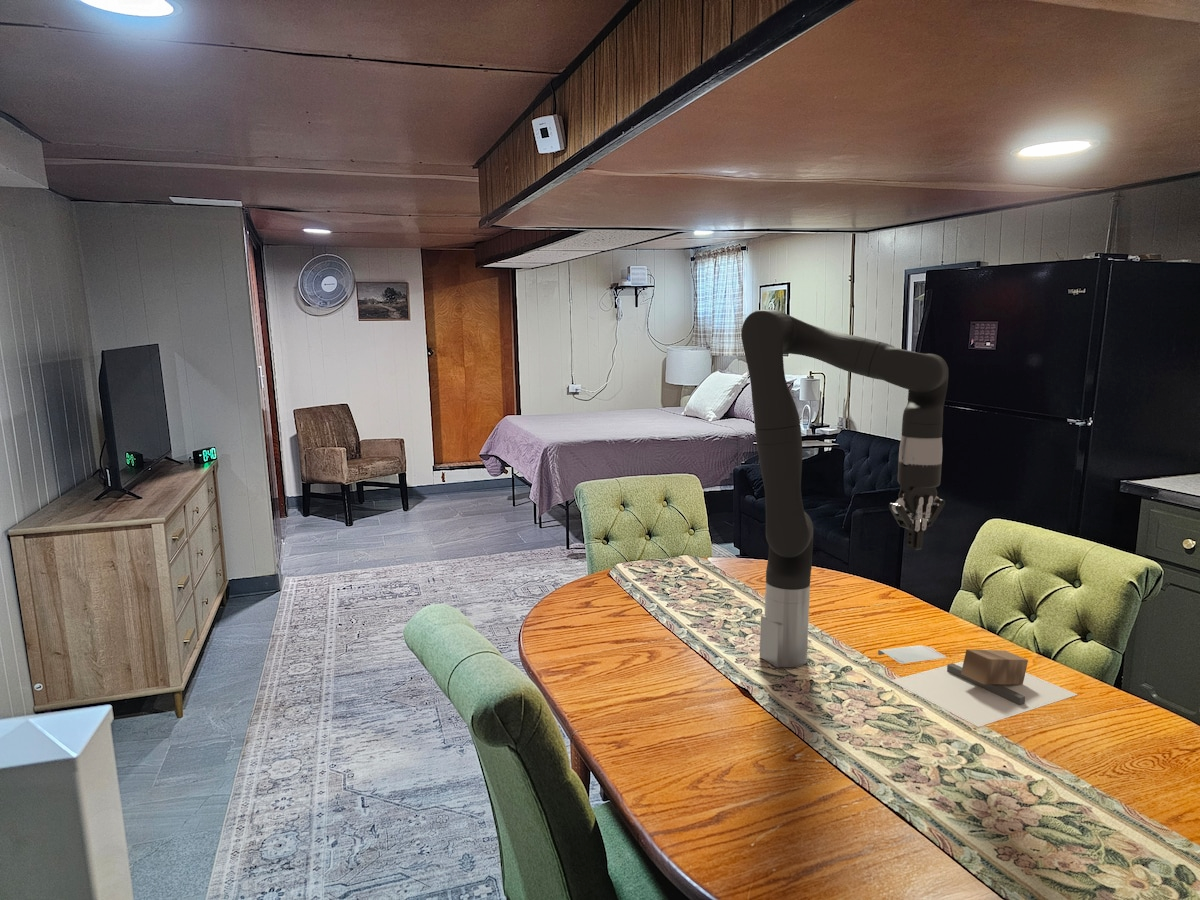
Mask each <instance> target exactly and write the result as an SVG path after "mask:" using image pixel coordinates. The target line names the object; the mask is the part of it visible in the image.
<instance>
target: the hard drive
mask: <svg viewBox="0 0 1200 900" xmlns="http://www.w3.org/2000/svg"><path fill="white" fill-rule="evenodd" d="M877 654H878V655H879V656H882V655H886V656H888V657H889V658H891V659H893V660H894V661H896V662H897V663H899V664H902V665H903V664H908V663H915V662H917V663H918V662H923V661H932V660H940V659H945V658H947V656H946V655H945V654H942V653H941V652H939V651H937V650H936V649H935V648H934V647H931V646H927V645H926V646H925V645H921V644H918V645H917V644H916V645H911V646H902V647H894V648H887V649H886V648H885V649H878V651H877Z"/></svg>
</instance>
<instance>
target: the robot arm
mask: <svg viewBox="0 0 1200 900" xmlns="http://www.w3.org/2000/svg"><path fill="white" fill-rule="evenodd" d="M741 342H742V347H743V352H744V356H745V360H746V365H747V371H748V375H749V380H750V389H751V402H752V408H753V419H754V432H755V442H756V448H757V455H758V461H759V466H760V467H759V468H760V472H761V473H760V474H761V477H762V482H763V489H764V498H765V500H764V501H765V539H766V542H767V544H768V557H767V564H766V569H765V570H766V571H765V572H766V573H765V596H764V597H765V598H764V614H763V615H761V616H760V632H759V633H760V635H759V637H760V638H759V658H761V659H763V660H764V661H765V662H767V663H769V664H770V665H772V666H774V667H775V668H798V667H802V666H804V665H805V664H807V661H808V645H809V644H808V643H809V617H810V616H809V615H810V595H811V594H810V592H811V576H812V567H813V549H814V548H813V547H814V525H813V521H812V518H811V517H810V515H809V514H808V513H807V512H806V511H805V509H804V504H803V499H802V498H803V497H802V487H801V485H802V484H801V483H802V471H803V469H802V468H803V438H802V428H801V427H802V426H801V421H800V420H801V419H800V415H799V412H798V408H797V405H796V403H795V401H794V398H793V396H792V393H791V391H790V388H789V386H788V383H787V380H786V374H785V368H784V367H785V366H784V354H789V355H797V356H798V355H799V356H805V357H807V358H808V357H809V358H811V359H812V358H813V359H815V360H818V361H821V362H824V363H826V364H828V365H831V366H833V367H834V368H838V369H839V370H843V371H846V372H849V373H852V374H855V375H859V376H863V377H865V378H866V377H867V378H871V379H875V380H881V381H884V382H886V383H889V384H892V385H894V386H897V387H899V388H903V389H905V390H908V393H907V403H906V406H905V408H904V410H903V413H902V421H901V423H902V424H901V438H900V443H899V448H898V449H899V451H898V462H897V463H898V464H897V482H898V484H899V485H900V489H899V492H898V495H897V496H898V499H896V501H895V502H890V503H889V504H888V509H889V511H890V513H891V514H892V516H893V517H894V519H895V520H896V524H898V525H899V527H901V528H904V529H906V530H907V531H906V546H907V548H908V549H910V550H913V551H918V550H922V549H923V545H924V535H925V531H926V530H927V528H928V527H933V526H934V523H935V521H936V520H937V518H938V517H939V515H940V513H941V511H942V510H943V508H944V507H945V505H946V500H945V499H942V498H940V497H939V496H937V495H938V491H937V487H939V486H940V485H941V481H942V480H941V479H942V478H941V477H942V464H943V463H942V462H943V450H944V449H943V428H944V427H943V425H944V407H945V401H946V396H947V391H948V385H949V366H948V363H947V362H946V360H945V359H944V358H943V357H942V356H940V355H938V354H935V353H923V352H918V351H917V352H916V351H912V350H907V349H902V348H897V347H895V346H894V345H892V344H889V343H887V342H886V343H885V342H883V341H878V340H875V339H870V338H866V337H861V336H859V335H858V336H857V335H854V334H848V333H842V332H839V331H838V332H837V331H833V330H830V329H825V328H824V327H823V328H822V327H820V326H819V327H818V326H816V325H813V324H810V323H808V322H805V321H803V320H801V319H798V318H796V317H794V316H792V315H789V314H787V313H786V312H784V311H781V310H779V309H758V310H755V311H753V312H751V313H749V315H748V316H747V317H746V318H745V319H744V322H743V324H742V327H741Z"/></svg>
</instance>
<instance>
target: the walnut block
mask: <svg viewBox="0 0 1200 900" xmlns="http://www.w3.org/2000/svg"><path fill="white" fill-rule="evenodd" d="M963 661H964V663H963V667H962V672H961V674H962V675H964V676H966V677H969V678H971V679H973V680H975V681H977V682H979V683H982V684H1023V681H1024V677H1025V672H1026V673H1027V667H1028V663H1029V660H1028V659H1027V658H1025V657H1023V656H1020V655H1017V654H1014V653H1012V652H1009V651H1008V650H1005V649H1004V650H1003V649H1002V650H999V649H997V650H995V649H966V650H965V654H964V659H963Z"/></svg>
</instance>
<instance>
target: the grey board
mask: <svg viewBox="0 0 1200 900" xmlns="http://www.w3.org/2000/svg"><path fill="white" fill-rule="evenodd" d="M963 663H964V660H962V661H959V662H956V663H953V662H952V663H949V664H948V663H947V665H944V666H939V667H936V668H932V669H928V670H924V671H922V672H917V673H913V674H910V675H906V676H901V677H898V678H895V679H891V680H890V682H891V683H893V684H895V685H897V686H900V687H901V688H903V689H906V690H908V691H909V692H911V693H912V694H915V695H916V696H918V697H920V698H922V699H924V700H926V701H928V702H930V703H932V704H934V705H935V706H937V707H939V708H941V709H943V710H945V711H947V712H949V713H950V714H953V715H954V716H956V717H958V718H960V719H962V720H963V721H966V722H968V723H969V724H971V725H973V726H976V727H977V728H981V727H983V726H986V725H989V724H992V723H995V722H998V721H1001V720H1005V719H1008V718H1012V717H1015V716H1017V715H1020V714H1024V713H1026V712H1029V711H1032V710H1036V709H1039V708H1042V707H1045V706H1048V705H1051V704H1054V703H1056V702H1060V701H1063V700H1067V699H1069V698H1072V697H1076V696H1078V693H1076V692H1072V691H1070V690H1068V689H1065V688H1064V687H1062V686H1058V685H1056V684H1054V683H1051V682H1050V681H1047V680H1044V679H1041V678H1039V677H1038V676H1035V675H1033V674H1030V673H1029V672H1027V671H1026V672H1025V677H1024V681H1023V684H982V683H979V682H977V681H975V680H973V679H971V678H969V677H966V676H964V675H962V674H961V672H962V667H963Z"/></svg>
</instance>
